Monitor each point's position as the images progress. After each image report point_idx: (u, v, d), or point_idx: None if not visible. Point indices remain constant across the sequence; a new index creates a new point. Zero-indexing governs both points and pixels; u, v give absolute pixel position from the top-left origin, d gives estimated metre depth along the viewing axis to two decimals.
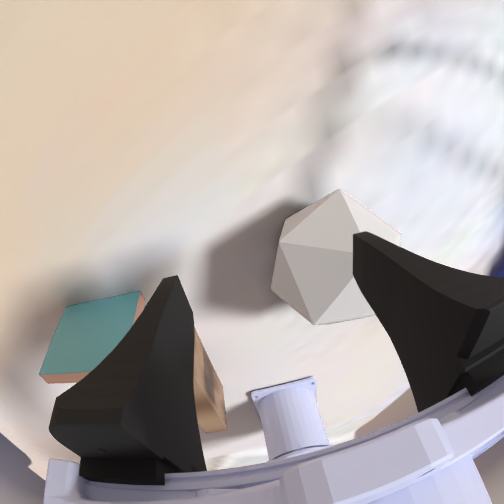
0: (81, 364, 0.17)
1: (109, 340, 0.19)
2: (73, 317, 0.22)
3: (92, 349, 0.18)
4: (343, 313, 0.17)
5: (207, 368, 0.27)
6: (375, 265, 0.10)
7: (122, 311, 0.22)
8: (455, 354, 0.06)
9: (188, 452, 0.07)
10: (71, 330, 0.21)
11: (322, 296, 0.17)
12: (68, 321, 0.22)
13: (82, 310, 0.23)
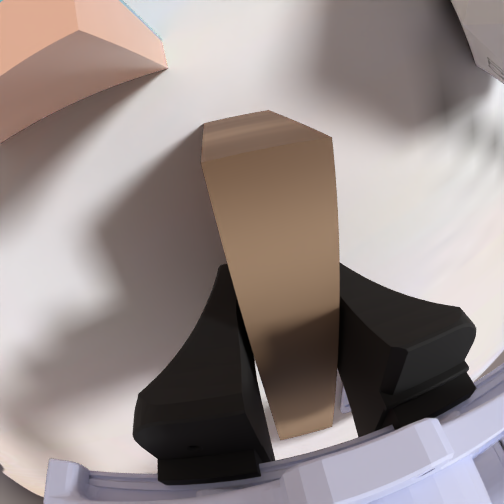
0: None
1: None
2: None
3: None
4: None
5: None
6: None
7: None
8: (378, 388, 0.06)
9: (267, 440, 0.07)
10: None
11: None
12: None
13: None
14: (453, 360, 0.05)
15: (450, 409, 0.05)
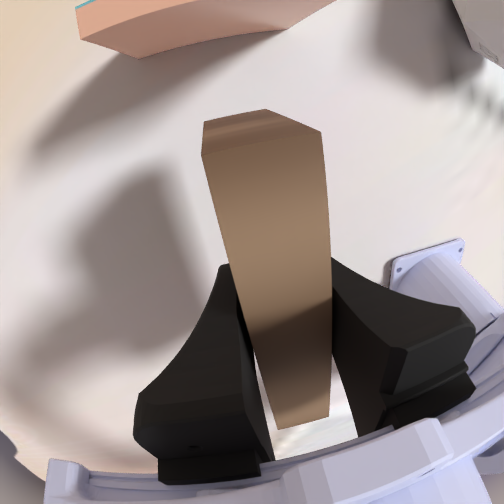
0: None
1: None
2: None
3: None
4: None
5: None
6: None
7: None
8: (378, 388, 0.06)
9: (267, 440, 0.07)
10: None
11: None
12: None
13: None
14: (453, 360, 0.05)
15: (450, 408, 0.05)
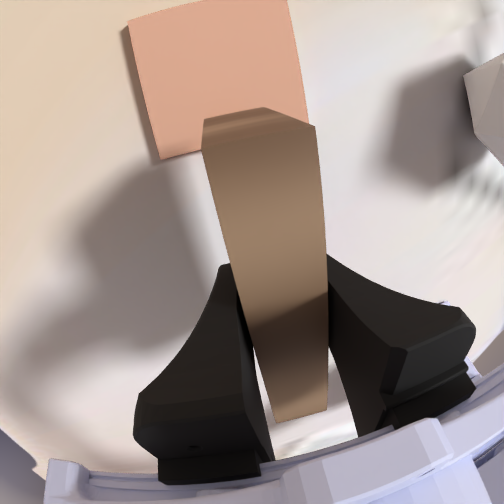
0: None
1: None
2: None
3: None
4: None
5: None
6: None
7: None
8: (378, 388, 0.06)
9: (268, 440, 0.07)
10: None
11: None
12: None
13: None
14: (453, 360, 0.05)
15: (450, 409, 0.05)
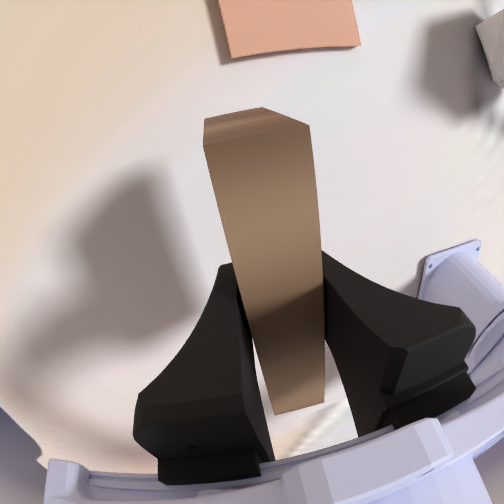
0: None
1: None
2: None
3: None
4: None
5: None
6: None
7: None
8: (378, 389, 0.06)
9: (267, 440, 0.07)
10: None
11: None
12: None
13: None
14: (453, 360, 0.05)
15: (450, 408, 0.05)
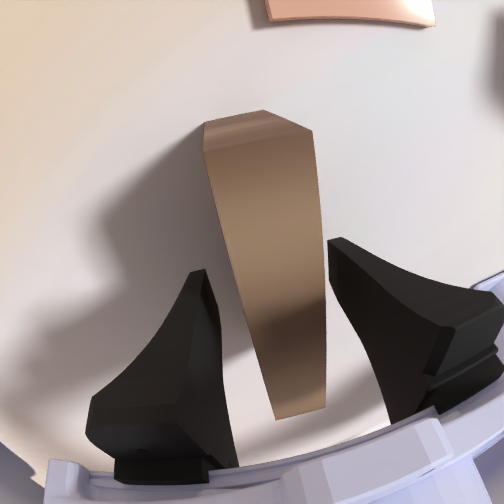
0: None
1: None
2: None
3: None
4: None
5: None
6: (348, 273, 0.10)
7: None
8: (421, 370, 0.06)
9: (225, 448, 0.07)
10: None
11: None
12: None
13: None
14: (486, 342, 0.05)
15: (483, 388, 0.05)
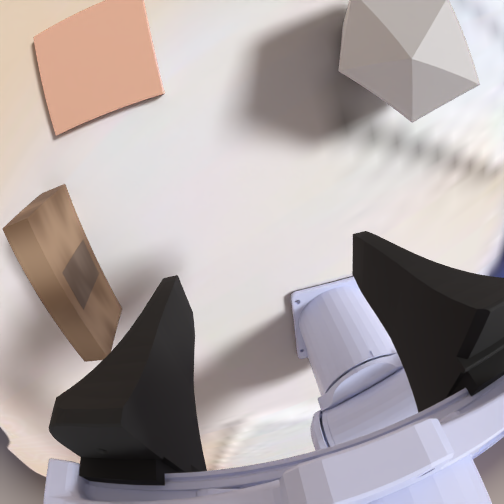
0: None
1: None
2: None
3: None
4: (438, 56, 0.10)
5: (84, 261, 0.20)
6: (376, 265, 0.10)
7: None
8: (455, 354, 0.06)
9: (188, 452, 0.07)
10: None
11: (412, 29, 0.10)
12: None
13: None
14: None
15: None
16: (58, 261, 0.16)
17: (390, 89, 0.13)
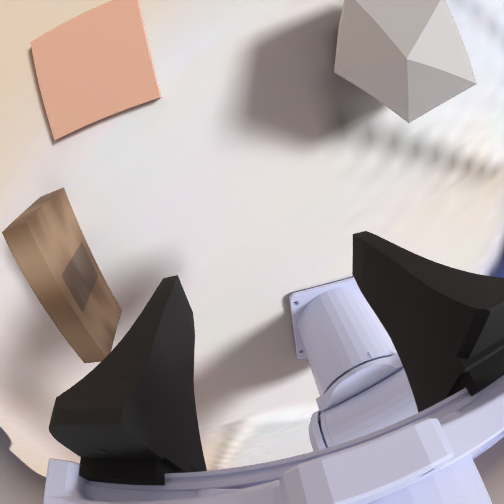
0: None
1: None
2: None
3: None
4: (434, 56, 0.10)
5: (83, 264, 0.20)
6: (375, 265, 0.10)
7: None
8: (455, 354, 0.06)
9: (188, 452, 0.07)
10: None
11: (407, 28, 0.10)
12: None
13: None
14: None
15: None
16: (57, 264, 0.16)
17: (386, 89, 0.13)
